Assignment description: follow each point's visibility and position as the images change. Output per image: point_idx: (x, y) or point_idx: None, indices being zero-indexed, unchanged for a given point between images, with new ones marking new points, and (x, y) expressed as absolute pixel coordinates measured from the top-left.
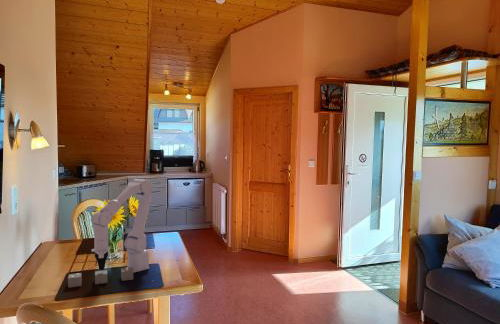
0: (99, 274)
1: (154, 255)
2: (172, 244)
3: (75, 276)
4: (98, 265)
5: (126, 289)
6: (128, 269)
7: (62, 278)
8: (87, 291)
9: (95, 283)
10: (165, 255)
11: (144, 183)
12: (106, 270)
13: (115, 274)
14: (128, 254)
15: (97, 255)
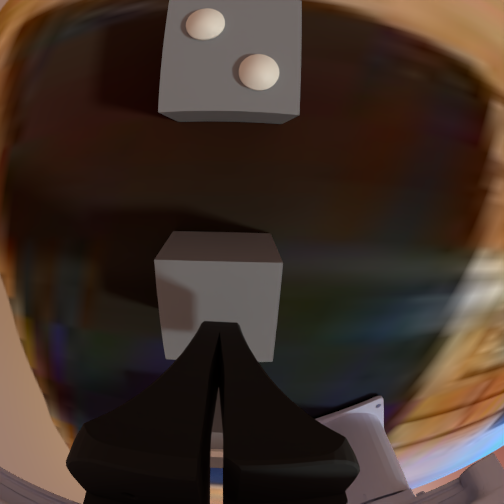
0: (167, 300)
1: (438, 449)
2: (471, 458)
3: (196, 54)
4: (184, 350)
5: (64, 378)
6: (219, 455)
7: (406, 20)
8: (59, 180)
9: (172, 235)
10: (410, 472)
11: None
12: (262, 357)
13: (323, 361)
14: (361, 495)
15: (84, 481)
